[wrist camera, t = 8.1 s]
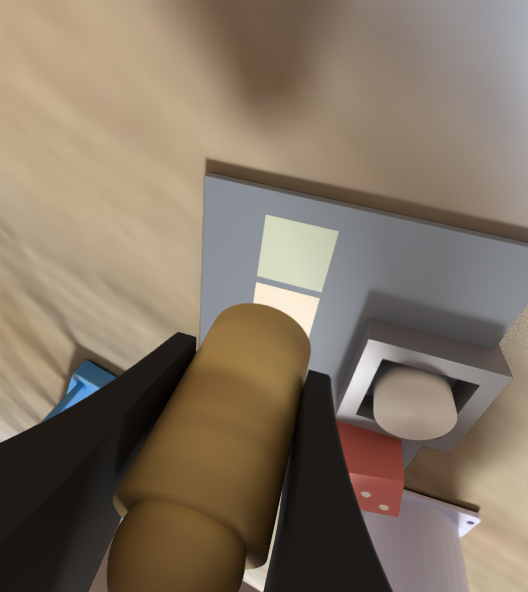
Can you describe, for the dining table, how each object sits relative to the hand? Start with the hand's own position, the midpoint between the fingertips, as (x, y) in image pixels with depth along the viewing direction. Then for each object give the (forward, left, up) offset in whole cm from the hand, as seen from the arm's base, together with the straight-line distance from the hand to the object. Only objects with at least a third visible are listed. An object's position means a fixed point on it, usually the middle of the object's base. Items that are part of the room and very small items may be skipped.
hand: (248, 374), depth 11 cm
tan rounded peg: (0, 0, -2) cm, 2 cm away
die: (-13, -8, -8) cm, 17 cm away
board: (-6, -3, -9) cm, 11 cm away
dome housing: (-6, -8, -9) cm, 13 cm away
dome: (-6, -8, -8) cm, 13 cm away
